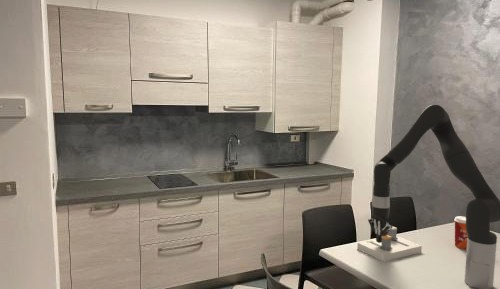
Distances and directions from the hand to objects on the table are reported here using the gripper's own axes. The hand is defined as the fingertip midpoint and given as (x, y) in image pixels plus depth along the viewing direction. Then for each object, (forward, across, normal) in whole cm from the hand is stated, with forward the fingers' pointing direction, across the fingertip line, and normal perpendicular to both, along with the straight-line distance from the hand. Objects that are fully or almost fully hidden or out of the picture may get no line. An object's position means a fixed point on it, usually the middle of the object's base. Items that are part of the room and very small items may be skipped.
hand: (379, 242), depth 168 cm
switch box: (+5, 0, -6) cm, 8 cm away
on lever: (+1, +3, -12) cm, 13 cm away
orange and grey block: (+2, -4, 0) cm, 4 cm away
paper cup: (+5, -12, -42) cm, 44 cm away
